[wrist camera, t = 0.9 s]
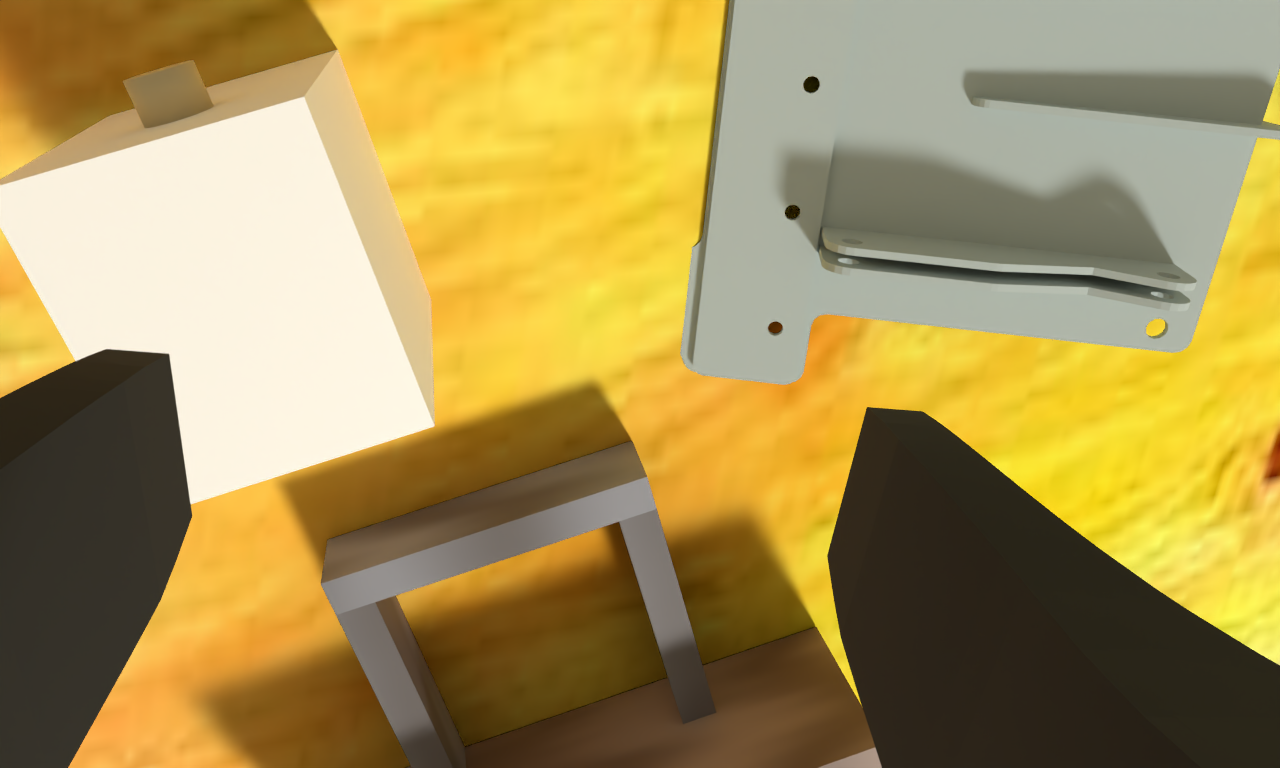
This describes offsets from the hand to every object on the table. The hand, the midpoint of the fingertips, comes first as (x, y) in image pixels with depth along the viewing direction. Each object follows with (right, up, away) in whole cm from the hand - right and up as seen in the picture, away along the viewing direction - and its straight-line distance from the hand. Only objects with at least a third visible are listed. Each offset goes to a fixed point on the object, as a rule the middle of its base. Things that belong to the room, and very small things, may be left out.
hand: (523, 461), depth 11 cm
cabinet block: (-7, +5, +12) cm, 15 cm away
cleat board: (-2, -6, +18) cm, 19 cm away
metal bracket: (+9, +8, +15) cm, 19 cm away
